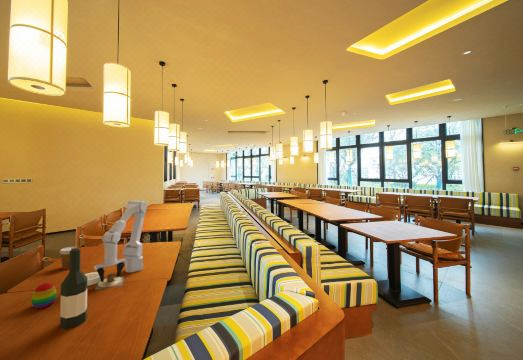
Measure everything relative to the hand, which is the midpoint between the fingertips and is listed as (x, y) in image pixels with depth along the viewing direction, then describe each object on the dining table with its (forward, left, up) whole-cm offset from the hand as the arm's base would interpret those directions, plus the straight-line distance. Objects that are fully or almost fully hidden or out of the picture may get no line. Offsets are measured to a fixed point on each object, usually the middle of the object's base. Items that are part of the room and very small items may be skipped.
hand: (110, 279), depth 121 cm
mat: (0, 0, -3) cm, 3 cm away
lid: (0, 0, -2) cm, 2 cm away
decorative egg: (+24, +10, -3) cm, 26 cm away
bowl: (+10, -6, -3) cm, 12 cm away
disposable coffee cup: (+26, -38, -3) cm, 46 cm away
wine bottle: (+9, +31, -3) cm, 32 cm away
